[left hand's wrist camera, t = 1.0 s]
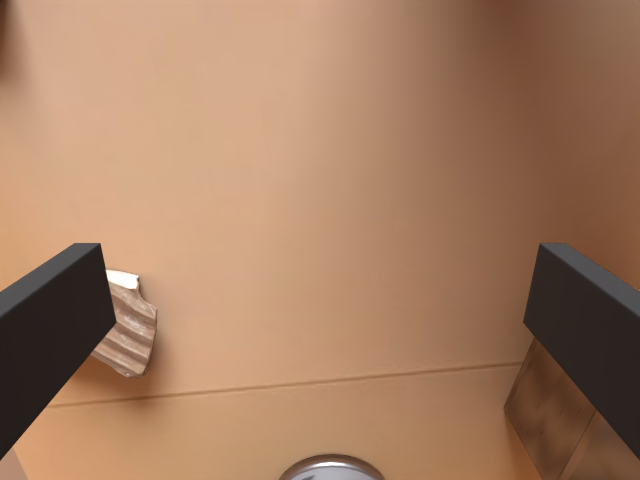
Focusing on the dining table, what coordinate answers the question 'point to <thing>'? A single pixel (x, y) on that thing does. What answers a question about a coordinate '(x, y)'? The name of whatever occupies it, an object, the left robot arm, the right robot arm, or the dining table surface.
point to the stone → (128, 328)
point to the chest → (547, 412)
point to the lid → (601, 455)
